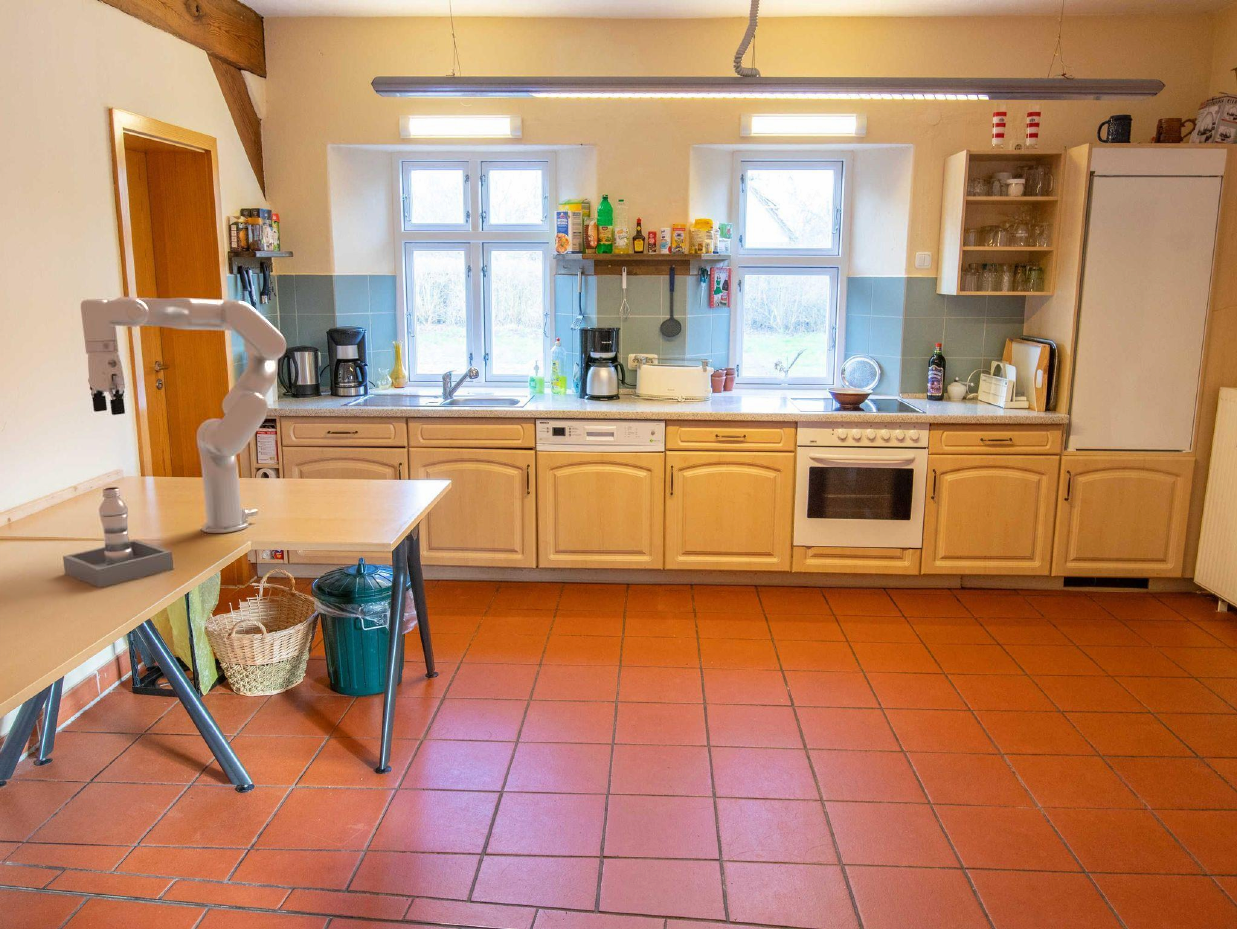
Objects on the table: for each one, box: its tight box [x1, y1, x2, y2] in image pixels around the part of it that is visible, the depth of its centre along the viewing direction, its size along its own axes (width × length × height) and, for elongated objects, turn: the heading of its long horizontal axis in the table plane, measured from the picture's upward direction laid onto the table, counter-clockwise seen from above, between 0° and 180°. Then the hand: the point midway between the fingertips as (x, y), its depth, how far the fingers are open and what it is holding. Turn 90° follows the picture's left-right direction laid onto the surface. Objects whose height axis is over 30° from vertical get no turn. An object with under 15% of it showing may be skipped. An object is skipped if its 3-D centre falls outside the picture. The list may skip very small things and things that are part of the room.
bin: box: [62, 539, 175, 589], centre depth 241 cm, size 18×18×4 cm
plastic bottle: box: [98, 486, 133, 566], centre depth 239 cm, size 6×7×20 cm
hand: (109, 412), depth 256 cm, fingers open, 9 cm apart
